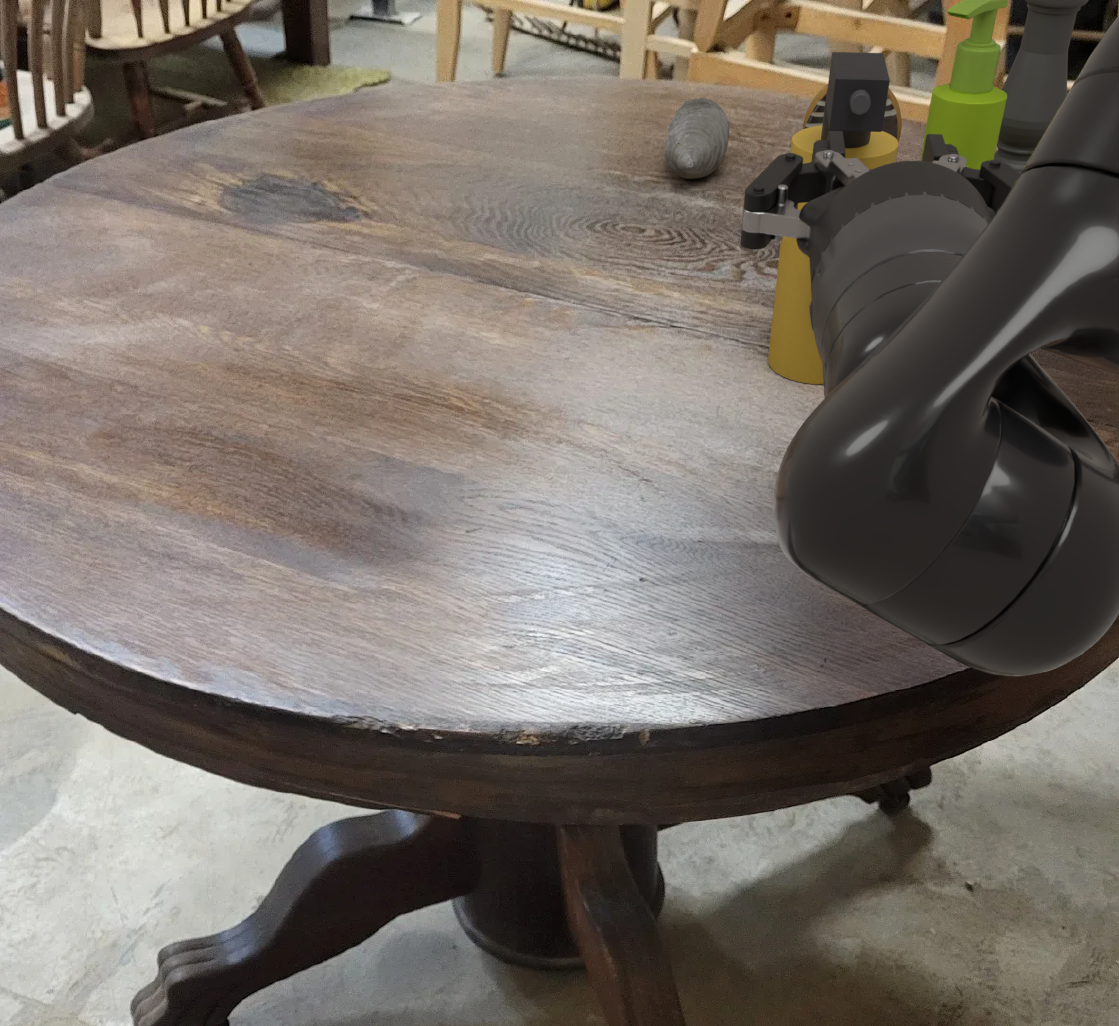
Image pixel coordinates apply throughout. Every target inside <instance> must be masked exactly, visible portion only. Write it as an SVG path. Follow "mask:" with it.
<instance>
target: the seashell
mask: <svg viewBox="0 0 1119 1026" xmlns="http://www.w3.org/2000/svg"><path fill="white" fill-rule="evenodd" d="M667 130H668V131H667V136H666V139H665V141H664V159H665V164H666V165H667V167H668V169H670V170H671V172H673V174H674V175H676V176H679V177H680V178H684V179H689V180H691V179H692V180H695V179H701V178H705V177H707V176H709V175H711V174H712V173H713V172H714V171H715V170H716V169H717V168H718V167H719V165H720V164H721V163H722V161H724V158H725V156H726V153H727V150H728V145H729V141H730V140H729V138H730V123H729V119H728V116H727V113H726V112H725V110H724V109H723V108H722V107H721V105H719V104H718V103H717V102H716V101H714V100H712V99H710V98H706V97H699V98H693V99H690V100H689V99H688V100H686V101H685V102H684V103H683V104H681V105H680V106H679V108H677V109H676V112H675V115H674V117H673V118H672V120H671V122H670V123H669V127H668V129H667Z"/></svg>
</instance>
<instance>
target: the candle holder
mask: <svg viewBox="0 0 1119 1026" xmlns="http://www.w3.org/2000/svg"><path fill="white" fill-rule="evenodd" d="M1024 2H1025V3H1026V8H1027V10H1028V11H1027V14H1026V18H1025V24H1024V28H1023V33H1022V37H1021V40H1020V41H1021V42H1020V46H1019V49H1018V50H1017V53H1016V56H1015V58H1014V60H1013V63H1012V65H1011V67H1010V69H1009V72H1008V74H1007V76H1006V79H1005V81H1004V84H1003V85H1002V88H1001V90H1003V91H1004V92H1006V94H1007V100H1006V105H1005V109H1004V114H1003V118H1002V123H1001V128H1000V132H999V137H998V142H997V146H996V148H997V150H996V151H995V156H994V160H999V161H1001V162H1004V163H1006V164H1008V165H1009V166H1011V167H1012V168H1013V169H1015V170H1016V171H1017V172H1019V173H1020V174H1021V172H1022V170H1023V168H1024V167H1025V165H1026V163H1027V162H1028V160H1029V158H1030V157H1031V155H1032V153H1033V152H1034V150H1035V148H1036V146H1037V145H1038V143H1039V141H1040V140H1041V138H1042V136H1043V135H1044V133H1045V131H1046V130H1047V128H1048V126H1049V124H1050V123H1051V121H1052V119H1053V118H1054V116H1055V114H1056V113H1057V111H1058V109H1059V108H1060V106H1061V104H1062V103H1063V101H1064V99H1065V97H1066V96H1067V94H1068V69H1069V68H1068V63H1069V61H1068V60H1069V47H1070V44H1071V39H1072V37H1073V36H1072V35H1073V31H1074V26H1075V23H1076V20H1077V15H1078V12H1079V11H1080V10H1081V8H1082V7H1083V6H1085V5H1086V4H1087V3H1088V2H1089V0H1024Z"/></svg>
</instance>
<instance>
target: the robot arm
mask: <svg viewBox="0 0 1119 1026" xmlns="http://www.w3.org/2000/svg"><path fill="white" fill-rule="evenodd" d="M845 153H846V152H845V145H844V137H843V131H828V136H827V140H817V141H816V142H815V143H814V145H813V154H812V162H810V163H803V157H802V156H800V155H796V154H794V153H790V152H786V153H783V154H780V155H778V156H777V157H776V158H775V159H773V161H771V163H770V164H769V165H768V166H767V167H765V168H764V170H763V171H762V172H761V173H760V174H759V175H758V176H757V177H756V178H755V179H754V180H753V181H752V182H751V183H750V184H749V185H748V186H747V187H746V188H745V189H744V196H743V197H744V198H743V207H742V219H741V230H740V231H741V232H740V243H739V244H740V246H741V247H742V248H744V249H748V250H752V251H756V250H761V249H764V248H765V249H766V247H768V245H769V244H770V243H771V242H772V241H773V242H781V240H782V239H783V237H790V238H796V239H797V245H798V247H799V249H800V250H801V251H802V252H803V253H804V254H805V255H807V256H808V257H809V258H810V275H811V294H812V301H811V304H810V306H809V310H810V319H811V326H812V331H814V336H815V341H816V345H817V349H818V353H819V356H820V358H821V361H822V368H823V384H822V385H823V395H824V399H822V401H821V402H820V403H819V404H818V405H817V406H816V408H815V409H813V411H812V412H811V413H810V414H809V415H808V416H807V418H806V419H805V420H804V422H803V423H802V424H801V426H800V427H799V428H798V430H797V431H796V433H795V435H794V436H793V437H792V439H791V441H790V443H789V444H788V447H787V449H786V450H785V452H784V454H783V457H782V459H781V462H780V465H779V468H778V471H777V475H776V478H775V483H774V489H773V498H772V499H773V501H772V518H773V525H774V526H773V528H774V533H775V536H776V539H777V541H778V544H779V547H780V549H781V551H782V553H783V554H784V556H785V557H786V559H787V560H788V561H789V562H790V563H791V564H792V565H793V566H794V567H795V568H796V569H797V570H799V571H800V572H801V573H802V574H803V575H805V576H807V577H808V578H810V579H811V580H813V581H814V582H816V583H818V584H819V585H821V586H823V587H825V588H827V589H828V590H830V591H832V592H834V593H836V594H837V595H839V596H841V597H842V598H844V599H846V600H848V601H850V602H852V603H854V604H856V605H857V606H859V607H861V608H862V609H863V610H865V611H867V612H869V613H870V614H873V615H875V616H876V617H878V618H880V620H881V619H882V620H883V621H885V622H887V623H888V624H890V625H892V626H894V627H896V628H898V629H899V630H901V631H902V632H905V633H906V634H908V635H909V636H912V637H913V638H915V639H916V640H918V641H920V642H922V643H924V644H925V645H926V646H927V645H928V646H929V647H931V648H932V649H934V650H936V651H938V652H939V653H942V654H943V655H945V656H947V657H949V658H950V659H952V660H954V661H956V662H958V663H960V664H962V665H964V666H966V667H968V668H972V669H975V670H977V671H980V672H983V673H986V674H991V675H997V676H1004V677H1024V676H1025V677H1026V676H1031V675H1037V674H1043V673H1047V672H1049V671H1052V670H1054V669H1058V668H1060V667H1062V666H1064V665H1067V664H1068V663H1069V662H1071V661H1073V660H1075V659H1076V658H1078V657H1080V656H1081V655H1083V654H1084V653H1085V652H1087V651H1088V650H1089V649H1091V648H1092V647H1093V646H1095V644H1097V642H1099V641H1100V640H1101V639H1102V637H1104V635H1105V634H1106V633H1107V632H1108V631H1109V629H1110V628H1111V627H1112V625H1113V624H1114V623H1115V621H1116V620H1117V618H1118V616H1119V462H1118V460H1117V459H1116V456H1115V455H1114V454H1113V453H1112V450H1111V449H1110V448H1109V447H1108V445H1107V444H1106V443H1105V442H1104V440H1103V439H1102V438H1101V436H1100V435H1099V434H1098V433H1097V431H1096V429H1095V428H1094V427H1093V426H1092V425H1091V424H1090V422H1089V421H1088V420H1087V419H1086V417H1085V416H1084V414H1082V412H1081V411H1080V410H1079V408H1078V407H1077V406H1076V405H1075V404H1074V403H1073V401H1072V400H1071V399H1070V397H1069V396H1068V395H1067V393H1065V392H1064V391H1063V389H1062V387H1060V386H1059V385H1058V384H1057V383H1056V382H1055V381H1054V379H1053V378H1052V377H1051V376H1050V374H1048V373H1047V371H1046V370H1045V369H1044V368H1043V367H1042V365H1040V363H1039V362H1038V361H1037V360H1036V359H1035V357H1034V356H1033V355H1032V353H1034V352H1035V351H1037V350H1039V349H1040V350H1042V351H1047V352H1050V353H1053V354H1055V355H1057V356H1058V355H1059V356H1061V357H1064V358H1066V359H1069V360H1072V361H1074V362H1078V363H1081V364H1083V365H1086V366H1089V367H1091V368H1095V369H1099V370H1102V371H1105V372H1110V373H1113V374H1118V375H1119V15H1118V16H1117V17H1116V18H1115V19H1114V21H1113V22H1112V23H1111V24H1110V26H1109V27H1108V29H1107V30H1106V31H1105V33H1104V34H1103V36H1102V37H1101V39H1100V40H1099V41H1098V43H1097V45H1096V46H1095V48H1094V49H1093V51H1092V52H1091V54H1090V55H1089V57H1088V59H1087V60H1086V62H1085V64H1084V65H1083V67H1082V68H1081V70H1080V72H1079V74H1078V76H1076V79H1075V81H1074V83H1073V84H1072V86H1071V87H1070V89H1069V90H1068V91H1067V96H1066V97H1065V99H1064V101H1063V103H1062V104H1061V106H1060V108H1059V109H1058V111H1057V113H1056V114H1055V116H1054V118H1053V119H1052V121H1051V123H1050V124H1049V126H1048V128H1047V130H1046V131H1045V133H1044V135H1043V136H1042V138H1041V140H1040V141H1039V143H1038V145H1037V146H1036V148H1035V150H1034V152H1033V153H1032V155H1031V157H1030V158H1029V160H1028V162H1027V163H1026V165H1025V167H1024V168H1023V170H1022V172H1021V174H1020V173H1019V172H1017V171H1016V170H1015V169H1013V168H1012V167H1011V166H1009V165H1008V164H1006V163H1004V162H1001V161H999V160H990V161H984V162H982V163H981V168H980V170H978V169H972V168H968V167H966V161H967V159H966V158H965V157H962V156H959V153H958V150H957V148H956V147H955V146H953V145H952V144H945V142H944V139H943V136H942V134H927V136H926V141H925V146H924V152H923V157H922V161H920V160H904V161H903V160H902V161H901V160H900V161H896V162H895V163H890V164H886V165H883V166H880V167H877V168H875V169H872V170H869V169H868V168H867V167H866V166H865V165H864V164H863V163H862V162H861V161H860V160H859V159H858V158H849V159H845ZM804 202H808V203H806V204H805V205H804V206H803V208H802V209H801V210H798V209H797V208H798V203H804Z"/></svg>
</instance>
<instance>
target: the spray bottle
mask: <svg viewBox="0 0 1119 1026" xmlns="http://www.w3.org/2000/svg"><path fill="white" fill-rule="evenodd" d="M890 79H891V78H890V75H889V71H888V67H887V64H886V59H885V56H884V53H883V52H853V51H851V52H850V51H846V52H845V51H832V52H831V57H830V66H829V74H828V82H827V84H828V89H827V93H826V101H825V109H824V117H823V125H821V126H814V127H810V128H806V129H803V128H802V129H801V130H799V131H797V132H795V133H794V134H793V135H792V137H791V144H790V152H789V153H794V154H796V155H800V156H802V157H803V163H810V162H812V154H813V145H814V143H815V142H816V141H817V140H827V136H828V131H843V137H844V145H845V152H846V153H845V159H849V158H858V159H859V160H860V161H861V162H862V163H863V164H864V165H865V166H866V167H867V168H868V169H875V168H877V167H880V166H883V165H886V164H890V163H895V162H897V158H898V157H897V156H898V150H899V142H898V141H897V139H896V138H895V137H893V136H892V135H890V134H888V133H886V132H883V131H882V128H883V122H884V115H885V109H886V102H887V96H888V89H890V81H891V80H890ZM806 203H808V202H804V203H798V208H797V209H798V210H801V209H802V208H803V206H804V205H805V204H806ZM779 245H780V246H779V252H778V253H779V255H778V263H777V271H776V273H777V274H776V281H775V282H776V283H775V292H774V300H773V310H772V317H771V318H772V319H771V329H770V335H769V336H770V337H769V347H768V357H767V362H768V365H769V368H770V369H772V370H773V372H774V373H776V374H777V375H779V376H781V377H783V378H785V379H788V380H790V381H794V382H796V383H801V384H808V385H824V384H823V368H822V361H821V358H820V356H819V353H818V349H817V345H816V341H815V336H814V331H812V326H811V319H810V310H809V306H810V304H811V301H812V294H811V275H810V258H809V257H808V256H807V255H805V254H804V253H803V252H802V251H801V250H800V249H799V247H798V245H797V239H796V238H790V237H783V239H782V240H781V241H780V244H779Z"/></svg>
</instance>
